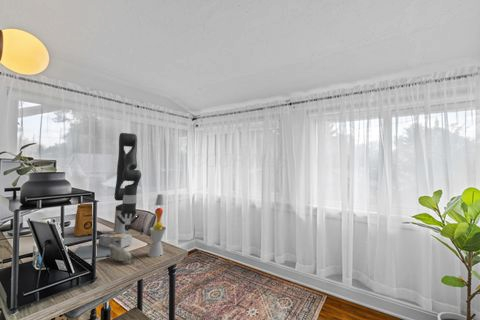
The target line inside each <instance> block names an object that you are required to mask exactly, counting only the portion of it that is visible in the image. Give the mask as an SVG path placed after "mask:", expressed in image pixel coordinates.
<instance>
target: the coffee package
mask: <svg viewBox="0 0 480 320" xmlns="http://www.w3.org/2000/svg"><path fill="white" fill-rule="evenodd" d="M79 204H80V205H78V204H77V207H76V208H77V209H76V212H75V213H76V214H75V221H74V230H73V235H74V236H75V237H83V236H82V235H84V236H89V235H88V234H91V235H93V234H92V203H79Z"/></svg>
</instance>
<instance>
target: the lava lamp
mask: <svg viewBox="0 0 480 320" xmlns="http://www.w3.org/2000/svg"><path fill="white" fill-rule="evenodd" d="M154 205H155V206H164V205H165V199H164V194H162V193H159V194H158V193H157V196H156V201H155V204H154ZM163 213H164V210H163V208H161V207H158V208H156V209H155V211H154V214H155V216H156V223H155V225H154V226H152V227H149V232H150V236H151V240H152V243H151V246H150V247H149V251H148V253H147V256H148V257H149V256H150V258H158V257H157V256H159V257H161V256H160V255H162V254H163V253H164V250H163V245H162V239H163V237H164V234H165V232H166V230H167V229H166V227H165V226H163V223H162V222H161V219H162V215H163ZM163 255H164V254H163ZM163 255H162V256H163Z"/></svg>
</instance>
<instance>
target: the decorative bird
mask: <svg viewBox="0 0 480 320" xmlns="http://www.w3.org/2000/svg"><path fill="white" fill-rule="evenodd" d="M109 247H110V248H111V249H110V255H112V256H111V258H113V259H114V260H115V261H117V262H124V261H125V262H126V263H127V264H128V265H130V264H131V262H132V253H130V251H128V250H125V249H124V248H120V247H117V246H115V245H113V244H109ZM110 255H109V256H110ZM109 256H108V254H107V257H105V259H108V258H110V257H109Z"/></svg>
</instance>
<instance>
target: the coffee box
mask: <svg viewBox="0 0 480 320" xmlns="http://www.w3.org/2000/svg"><path fill="white" fill-rule="evenodd" d="M132 237H133V234H131V233H130V234H129V233H126V234H125V233H118V232H114V231H109V232H105V233H103V234H100V235H99V238H98V245H99V246H105V247H109V244H113V245H115V246H117V247H120V248H122V249H124V248H126V247H127V246H130V245H132V239H133V238H132Z"/></svg>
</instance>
